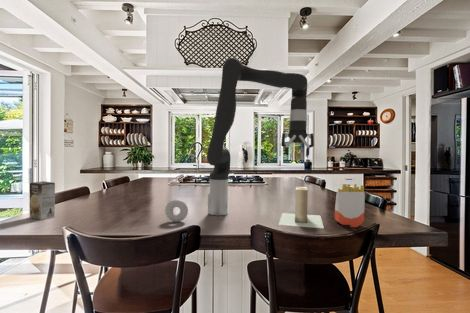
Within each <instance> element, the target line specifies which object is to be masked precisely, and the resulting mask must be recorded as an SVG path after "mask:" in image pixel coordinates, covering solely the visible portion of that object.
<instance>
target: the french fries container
mask: <svg viewBox="0 0 470 313" xmlns="http://www.w3.org/2000/svg"><path fill="white" fill-rule="evenodd" d="M365 196H366V193H365V185H361V184H360V186H357V184H356V183H354V184H353V187H351V184H350V183H349V184H348V183H347V184H346V183H342V188H338V189H337V191H336V197H335V203H334V204H335V206H334V219H335V220H336V222H338V223H339V224H341V225H343V226H344V225H345V226H346V225H348V226H349V225H350V228H358V227H359V226H360V225H362V224H363V223H364V222H365V204H366V203H365V200H366V197H365Z"/></svg>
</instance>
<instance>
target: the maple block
mask: <svg viewBox="0 0 470 313" xmlns="http://www.w3.org/2000/svg"><path fill="white" fill-rule="evenodd" d="M308 193H309V192H308V186H295V204H294V205H295V206H294V208H295V212H294V214H295V222H297V223H307V215H308V204H309V203H308V200H309V199H308V196H309V194H308Z"/></svg>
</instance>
